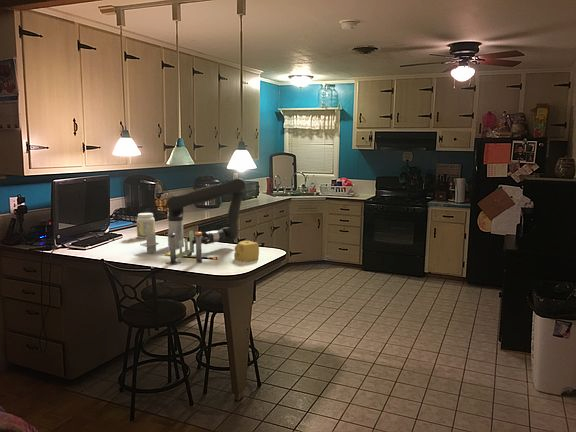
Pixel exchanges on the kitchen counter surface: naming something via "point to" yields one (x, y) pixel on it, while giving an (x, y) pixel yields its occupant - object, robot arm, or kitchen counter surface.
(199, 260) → the latch post
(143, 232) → the supplement tub
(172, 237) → the hinge post
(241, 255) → the cheese
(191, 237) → the gate
